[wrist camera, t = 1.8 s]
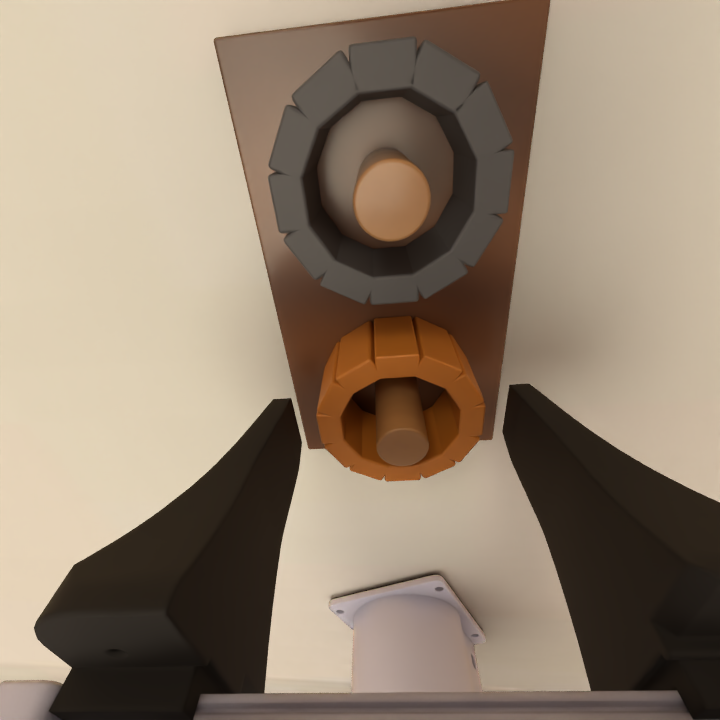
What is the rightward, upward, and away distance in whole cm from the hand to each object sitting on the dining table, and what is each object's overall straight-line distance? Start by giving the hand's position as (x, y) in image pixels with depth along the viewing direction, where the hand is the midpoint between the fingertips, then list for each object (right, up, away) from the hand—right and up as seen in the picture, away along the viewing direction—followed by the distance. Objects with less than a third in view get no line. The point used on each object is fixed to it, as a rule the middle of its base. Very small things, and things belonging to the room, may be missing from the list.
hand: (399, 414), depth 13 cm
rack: (0, +4, +1) cm, 4 cm away
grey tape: (-1, +7, -2) cm, 7 cm away
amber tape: (0, +1, +2) cm, 2 cm away
